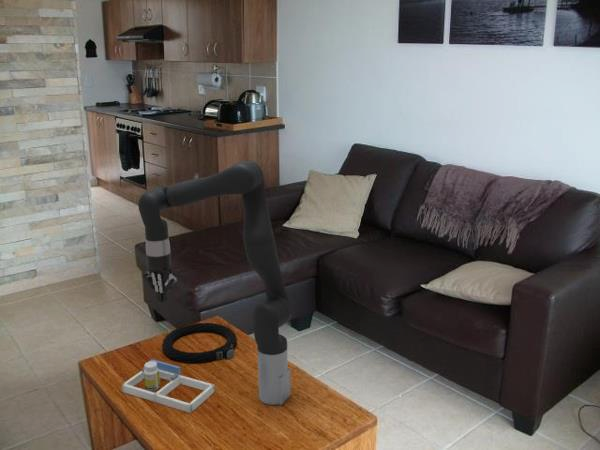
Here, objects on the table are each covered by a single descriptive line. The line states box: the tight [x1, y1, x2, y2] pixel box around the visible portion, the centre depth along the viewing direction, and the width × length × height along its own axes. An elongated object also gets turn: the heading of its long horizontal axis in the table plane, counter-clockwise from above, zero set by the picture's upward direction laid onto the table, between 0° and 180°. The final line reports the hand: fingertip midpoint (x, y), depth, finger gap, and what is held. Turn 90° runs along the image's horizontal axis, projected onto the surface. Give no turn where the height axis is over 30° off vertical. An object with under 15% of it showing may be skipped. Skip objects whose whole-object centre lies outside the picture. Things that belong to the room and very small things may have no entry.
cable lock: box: [161, 322, 238, 363], centre depth 217 cm, size 28×4×30 cm
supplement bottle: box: [143, 360, 161, 392], centre depth 190 cm, size 5×5×8 cm
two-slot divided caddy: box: [121, 359, 216, 414], centre depth 188 cm, size 27×14×5 cm, turn 64°
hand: (162, 301), depth 190 cm, fingers closed
